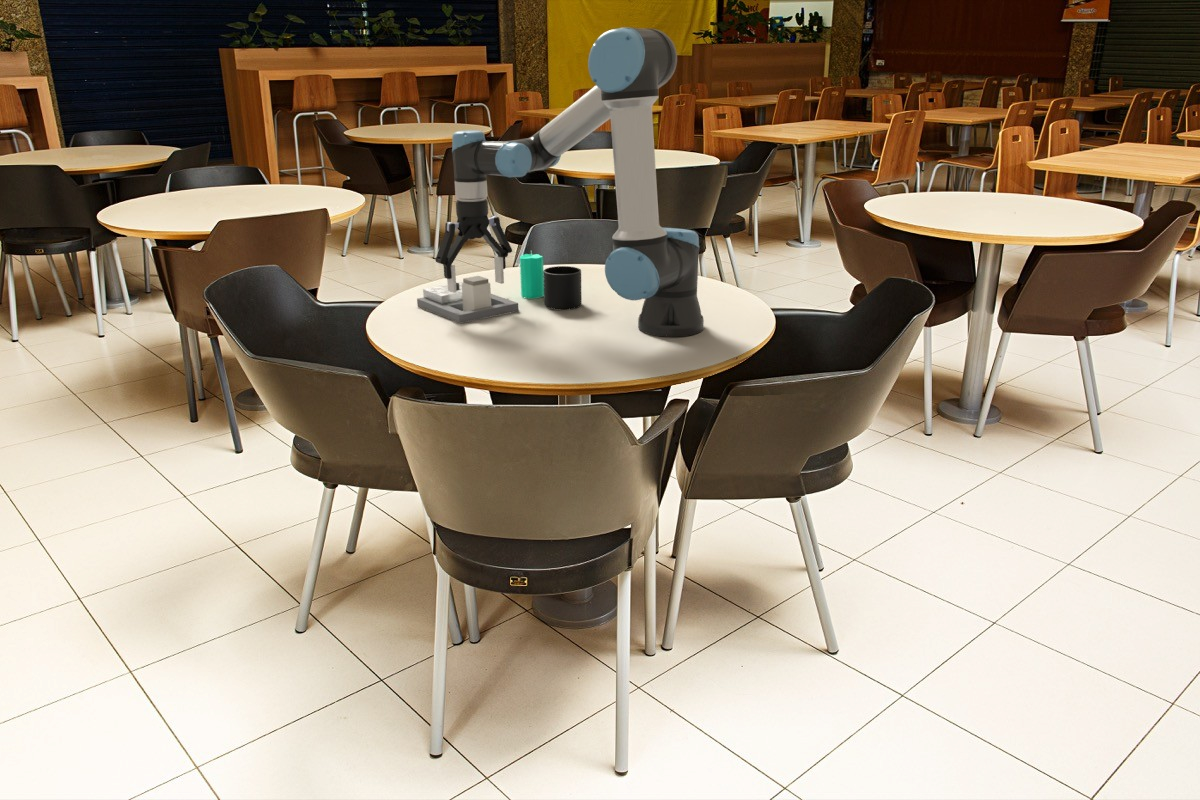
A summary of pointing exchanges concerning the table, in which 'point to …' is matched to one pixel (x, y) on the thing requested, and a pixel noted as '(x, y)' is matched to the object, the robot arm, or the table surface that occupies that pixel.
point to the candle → (532, 276)
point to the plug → (476, 293)
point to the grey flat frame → (456, 310)
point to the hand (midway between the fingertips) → (476, 287)
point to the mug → (562, 287)
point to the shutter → (443, 294)
